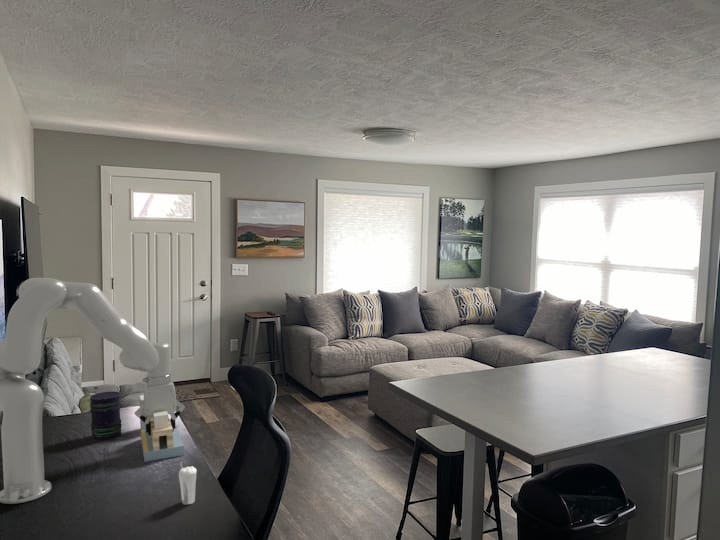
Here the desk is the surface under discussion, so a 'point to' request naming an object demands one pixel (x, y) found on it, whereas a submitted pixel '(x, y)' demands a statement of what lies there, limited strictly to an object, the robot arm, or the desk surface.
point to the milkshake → (187, 484)
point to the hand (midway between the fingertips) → (160, 432)
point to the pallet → (161, 432)
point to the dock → (161, 447)
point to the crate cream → (161, 420)
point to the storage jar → (105, 416)
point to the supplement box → (141, 399)
